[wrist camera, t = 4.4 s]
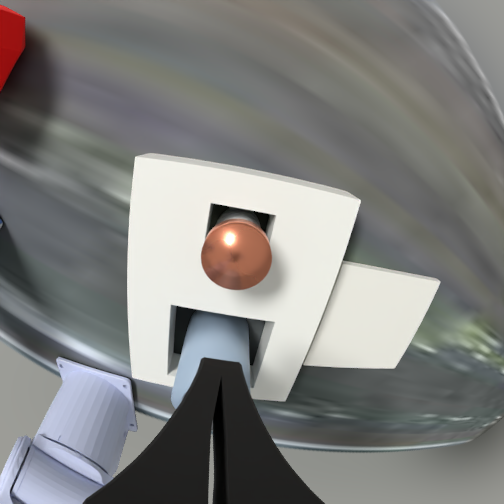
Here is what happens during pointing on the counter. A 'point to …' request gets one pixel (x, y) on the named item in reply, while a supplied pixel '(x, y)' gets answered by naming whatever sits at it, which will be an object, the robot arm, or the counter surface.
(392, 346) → the stone coaster
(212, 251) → the plunger
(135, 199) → the white panel with holes
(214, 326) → the capped blue cylinder
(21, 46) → the ball
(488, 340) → the counter surface
